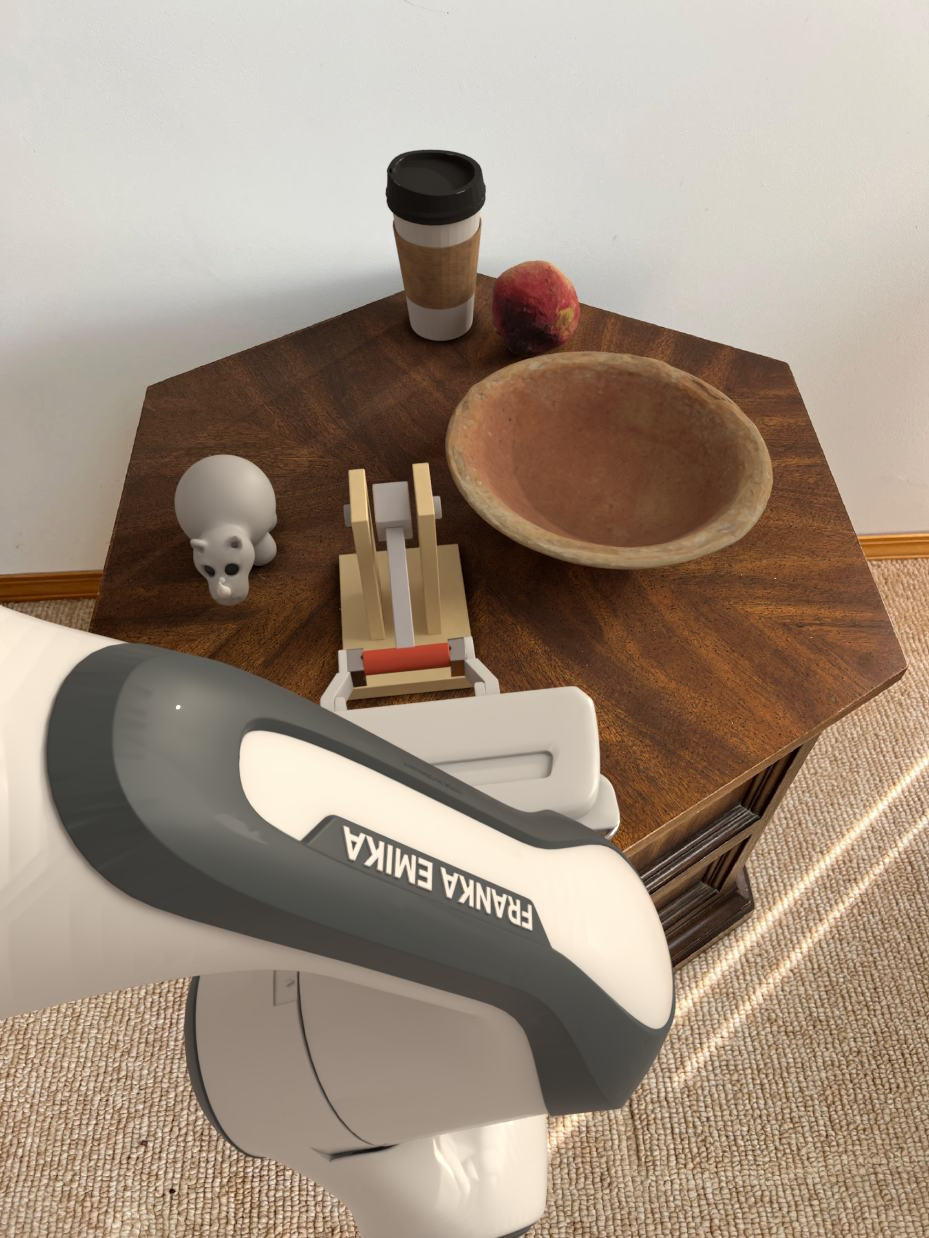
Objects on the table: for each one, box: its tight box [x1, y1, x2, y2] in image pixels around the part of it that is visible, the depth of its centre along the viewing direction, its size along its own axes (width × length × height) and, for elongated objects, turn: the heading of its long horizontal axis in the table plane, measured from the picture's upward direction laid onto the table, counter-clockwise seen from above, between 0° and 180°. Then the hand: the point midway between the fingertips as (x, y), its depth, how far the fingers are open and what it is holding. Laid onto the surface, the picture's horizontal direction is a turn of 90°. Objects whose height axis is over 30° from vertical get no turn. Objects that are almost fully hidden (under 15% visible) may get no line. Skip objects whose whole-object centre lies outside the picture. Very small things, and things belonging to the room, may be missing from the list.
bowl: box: [444, 350, 774, 571], centre depth 71 cm, size 24×24×8 cm
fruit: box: [491, 259, 581, 357], centre depth 84 cm, size 8×8×8 cm
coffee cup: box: [384, 149, 487, 342], centre depth 83 cm, size 8×8×15 cm
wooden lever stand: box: [338, 462, 474, 701], centre depth 63 cm, size 12×9×14 cm
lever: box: [363, 480, 450, 676], centre depth 57 cm, size 12×5×2 cm, turn 6°
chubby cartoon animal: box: [174, 454, 278, 607], centre depth 68 cm, size 7×12×8 cm, turn 5°
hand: (405, 648), depth 56 cm, fingers closed on lever, 5 cm apart
